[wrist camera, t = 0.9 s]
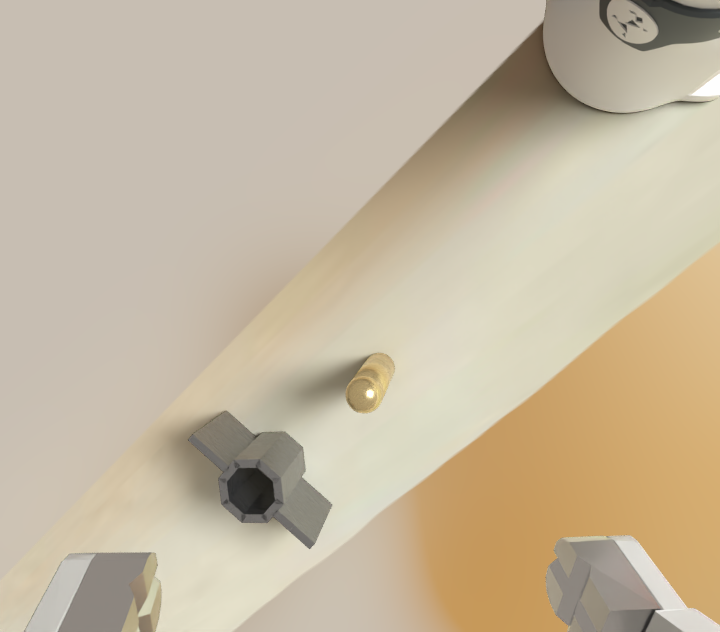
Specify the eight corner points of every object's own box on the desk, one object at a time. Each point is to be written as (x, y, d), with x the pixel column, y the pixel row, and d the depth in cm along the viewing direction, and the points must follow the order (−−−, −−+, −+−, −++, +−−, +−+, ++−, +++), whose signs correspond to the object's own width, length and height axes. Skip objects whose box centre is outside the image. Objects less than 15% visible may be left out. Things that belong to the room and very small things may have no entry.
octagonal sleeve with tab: (240, 392, 50) (209, 413, 44) (348, 487, 50) (332, 524, 43) (208, 433, 52) (172, 459, 45) (312, 526, 51) (292, 568, 44)
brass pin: (377, 346, 47) (358, 372, 37) (400, 366, 47) (388, 398, 36) (358, 368, 48) (334, 400, 37) (381, 388, 48) (363, 426, 37)
